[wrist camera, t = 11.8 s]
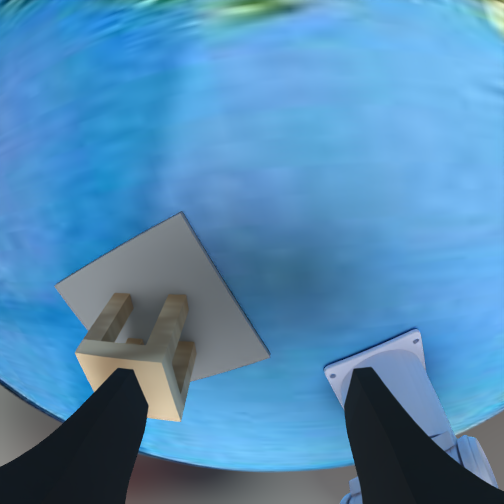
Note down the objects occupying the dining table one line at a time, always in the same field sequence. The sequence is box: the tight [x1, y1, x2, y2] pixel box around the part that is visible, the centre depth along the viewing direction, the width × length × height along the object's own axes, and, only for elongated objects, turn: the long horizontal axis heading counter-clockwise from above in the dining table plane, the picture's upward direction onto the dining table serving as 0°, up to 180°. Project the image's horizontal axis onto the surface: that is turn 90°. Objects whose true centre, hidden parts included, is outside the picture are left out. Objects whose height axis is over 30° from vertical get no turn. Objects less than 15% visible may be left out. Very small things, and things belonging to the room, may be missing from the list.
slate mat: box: [55, 211, 270, 382], centre depth 21 cm, size 12×12×1 cm
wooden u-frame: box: [75, 293, 197, 422], centre depth 18 cm, size 5×5×6 cm
